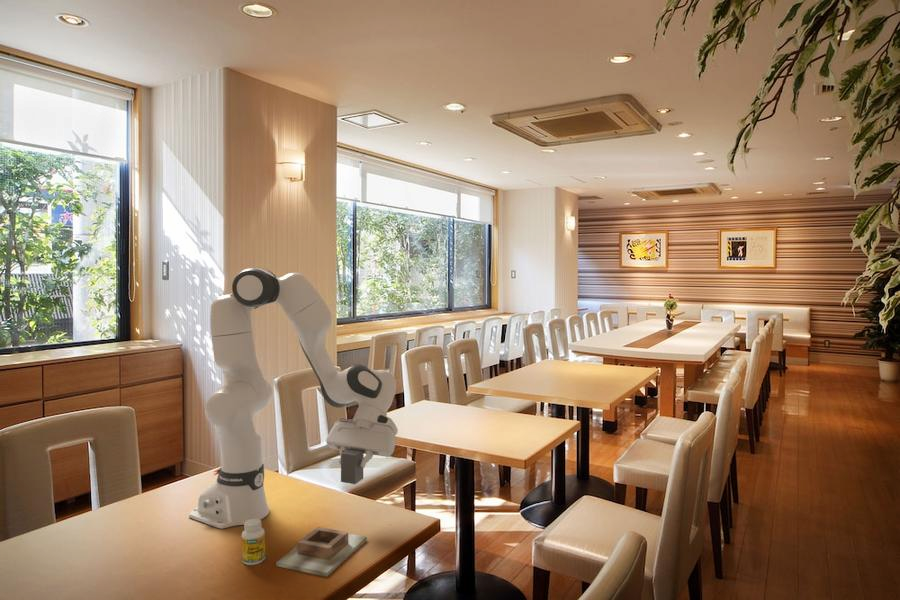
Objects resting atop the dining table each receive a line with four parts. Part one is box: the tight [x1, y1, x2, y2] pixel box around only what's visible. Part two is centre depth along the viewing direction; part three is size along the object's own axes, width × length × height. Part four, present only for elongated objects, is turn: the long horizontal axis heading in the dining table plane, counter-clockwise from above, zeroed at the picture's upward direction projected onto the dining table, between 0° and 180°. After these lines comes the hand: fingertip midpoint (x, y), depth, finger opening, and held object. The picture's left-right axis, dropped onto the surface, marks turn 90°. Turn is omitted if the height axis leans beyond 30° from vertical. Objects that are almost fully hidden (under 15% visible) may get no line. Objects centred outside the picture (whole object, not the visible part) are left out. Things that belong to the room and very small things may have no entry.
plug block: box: [340, 449, 365, 485], centre depth 161 cm, size 4×4×8 cm
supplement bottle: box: [241, 519, 266, 566], centre depth 141 cm, size 5×5×10 cm
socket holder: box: [275, 526, 367, 578], centre depth 145 cm, size 14×19×4 cm
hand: (351, 465), depth 160 cm, fingers closed on plug block, 4 cm apart
